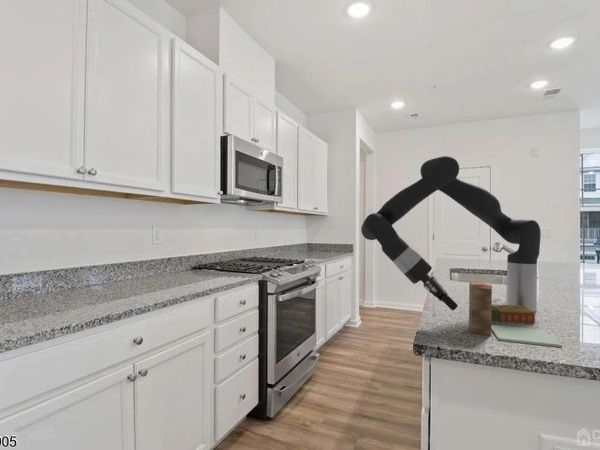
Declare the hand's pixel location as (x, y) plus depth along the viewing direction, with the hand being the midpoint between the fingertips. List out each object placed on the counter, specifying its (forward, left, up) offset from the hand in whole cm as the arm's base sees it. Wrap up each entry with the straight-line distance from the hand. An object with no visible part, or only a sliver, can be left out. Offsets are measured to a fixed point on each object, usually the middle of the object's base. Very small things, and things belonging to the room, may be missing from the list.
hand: (455, 308), depth 99 cm
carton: (-14, +20, -7) cm, 26 cm away
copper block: (+2, +6, -6) cm, 9 cm away
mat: (+5, +16, -6) cm, 18 cm away
